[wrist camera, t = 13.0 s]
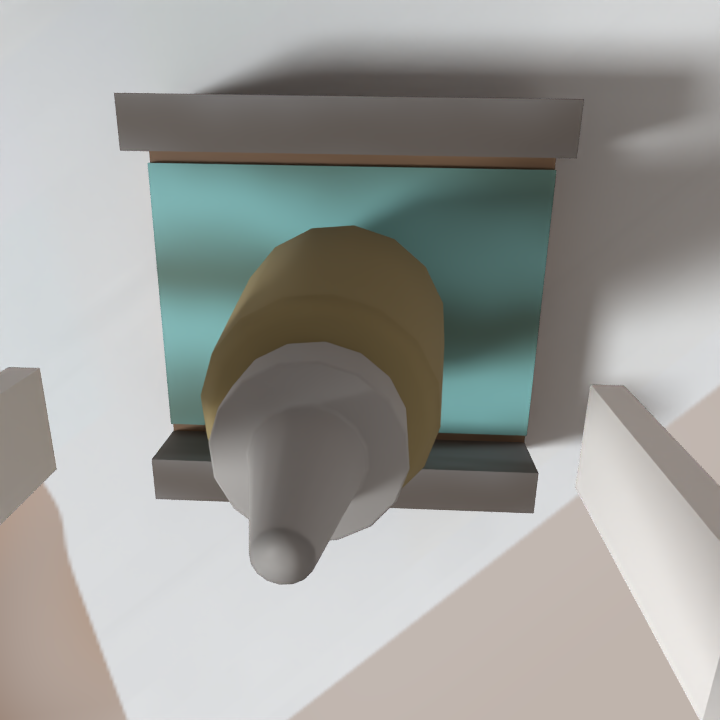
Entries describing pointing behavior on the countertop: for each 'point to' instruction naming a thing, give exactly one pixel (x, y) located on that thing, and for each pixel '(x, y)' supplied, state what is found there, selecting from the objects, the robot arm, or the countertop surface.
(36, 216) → the countertop surface
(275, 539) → the squeeze bottle
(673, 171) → the countertop surface
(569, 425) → the countertop surface
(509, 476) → the dock
